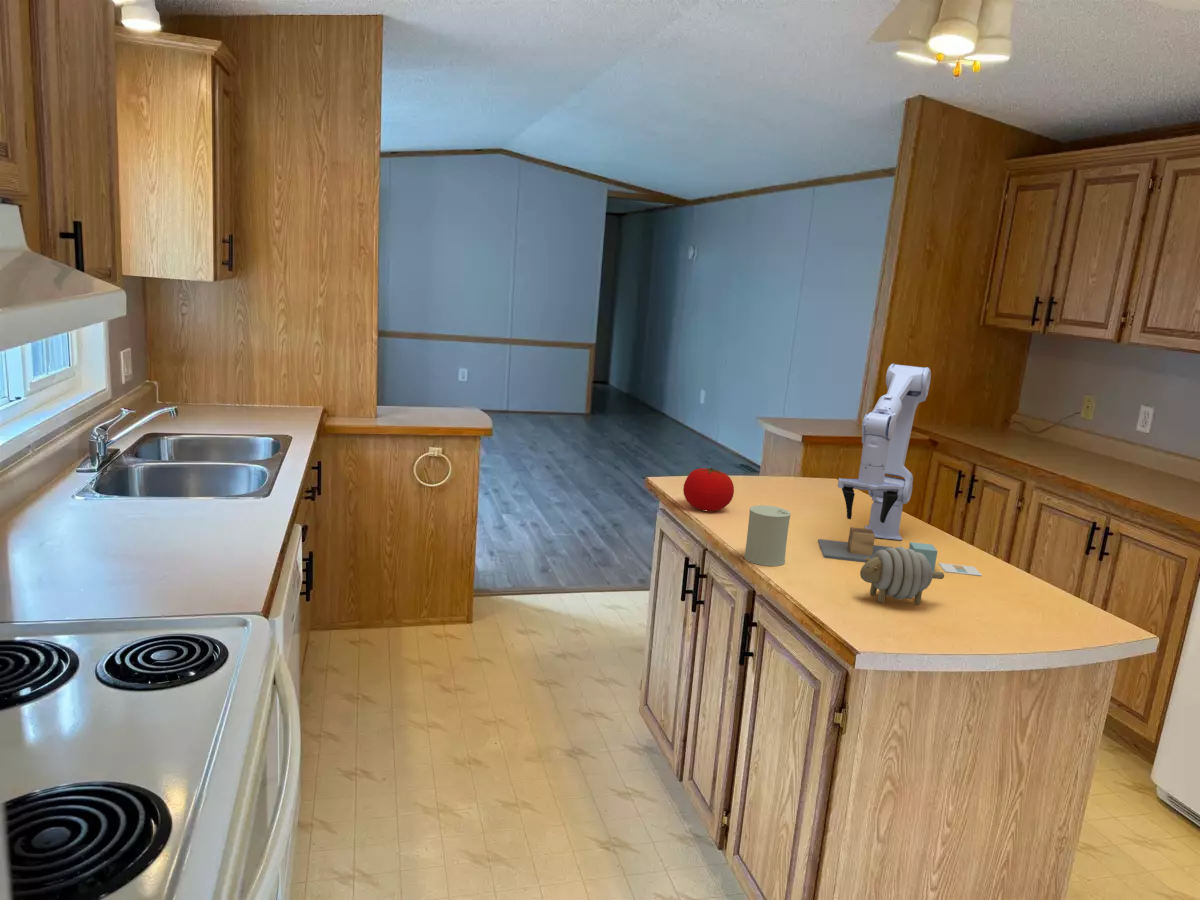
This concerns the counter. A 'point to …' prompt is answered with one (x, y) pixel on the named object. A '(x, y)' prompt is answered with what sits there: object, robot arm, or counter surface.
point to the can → (767, 535)
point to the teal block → (925, 552)
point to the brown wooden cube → (861, 541)
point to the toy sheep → (898, 574)
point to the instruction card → (960, 569)
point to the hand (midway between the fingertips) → (865, 519)
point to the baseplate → (844, 551)
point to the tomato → (708, 489)
